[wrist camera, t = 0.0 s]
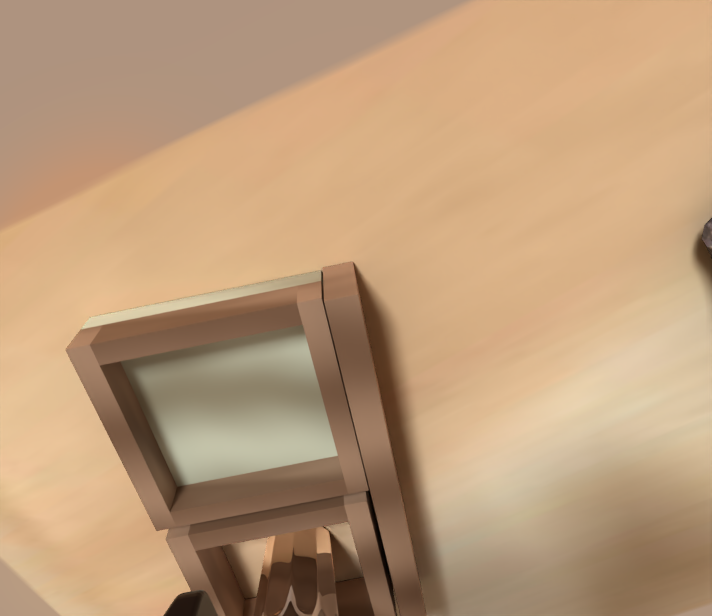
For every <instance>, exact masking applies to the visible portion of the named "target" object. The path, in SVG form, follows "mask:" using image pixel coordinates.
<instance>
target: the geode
mask: <svg viewBox="0 0 712 616" xmlns="http://www.w3.org/2000/svg"><path fill="white" fill-rule="evenodd" d="M702 240H703V241H704V243H705V244H706V247H707V249H708V251H709V253H710V256H711V258H712V218H711V219H710V220H709V221H708V222H707V223H706V224H705V227H704V231H703V235H702Z"/></svg>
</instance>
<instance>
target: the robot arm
mask: <svg viewBox="0 0 712 616" xmlns="http://www.w3.org/2000/svg"><path fill="white" fill-rule="evenodd" d="M164 616H218V614H217V612H216V610H215V608H214V606H213V603H212V601H211V599H210V597H209V595H208V594H207V592H206V591H204V590H197V591H191V592H186V593H182V594H180V595H178V596H177V597H176V598H175V599H174V601H173V602H172V604H171V605H170V607H169V608H168V610H167V611H166V613H165V614H164Z"/></svg>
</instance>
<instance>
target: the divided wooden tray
mask: <svg viewBox="0 0 712 616" xmlns="http://www.w3.org/2000/svg"><path fill="white" fill-rule="evenodd" d="M66 352H67V354H68V356H69V358H70V360H71V362H72V364H73V366H74V368H75V370H76V372H77V374H78V376H79V378H80V380H81V382H82V384H83V386H84V388H85V390H86V392H87V394H88V396H89V398H90V400H91V402H92V404H93V406H94V408H95V410H96V412H97V414H98V415H99V417H100V419H101V421H102V423H103V425H104V427H105V429H106V431H107V433H108V435H109V437H110V439H111V441H112V443H113V445H114V447H115V449H116V451H117V453H118V455H119V457H120V459H121V461H122V463H123V465H124V467H125V469H126V471H127V473H128V475H129V477H130V479H131V481H132V483H133V485H134V487H135V489H136V491H137V493H138V495H139V497H140V499H141V501H142V503H143V505H144V507H145V509H146V511H147V513H148V515H149V517H150V519H151V521H152V523H153V525H154V527H155V529H156V531H159V530H164V529H169V530H168V533H167V537H166V541H167V543H168V545H169V547H170V549H171V551H172V553H173V555H174V557H175V559H176V561H177V563H178V565H179V567H180V569H181V571H182V573H183V575H184V577H185V579H186V581H187V583H188V585H189V587H190V589H191V591H197V590H204V591H206V592H207V594H208V595H209V597H210V599H211V601H212V603H213V606H214V608H215V610H216V612H217V614H218V616H254V610H255V604H256V599H257V597H256V598H251V599H244V597H243V594H242V592H241V590H240V587H239V585H238V583H237V581H236V578H235V576H234V574H233V571H232V569H231V567H230V564H229V562H228V560H227V558H226V555H225V553H224V551H223V548H222V546H223V545H228V544H233V543H238V542H244V541H249V540H254V539H260V538H265V537H270V536H275V535H281V534H286V533H291V532H296V531H302V530H307V529H312V528H318V527H323V526H328V525H333V524H339V523H344V522H349V525H350V528H351V532H352V535H353V539H354V543H355V546H356V550H357V553H358V557H359V561H360V564H361V568H362V571H363V575H364V577H363V578H358V579H353V580H347V581H342V582H336V590H337V599H338V607H339V616H397V613H396V606H395V598H394V591H393V586H394V590H395V594H396V598H397V603H398V607H399V611H400V615H401V616H426V611H425V606H424V600H423V595H422V589H421V584H420V579H419V574H418V569H417V565H416V560H415V555H414V550H413V546H412V541H411V536H410V531H409V527H408V522H407V517H406V512H405V508H404V503H403V498H402V493H401V489H400V484H399V479H398V474H397V469H396V465H395V460H394V455H393V450H392V446H391V441H390V436H389V431H388V427H387V422H386V417H385V412H384V408H383V403H382V398H381V393H380V388H379V384H378V379H377V374H376V369H375V365H374V360H373V355H372V350H371V346H370V341H369V336H368V331H367V327H366V322H365V317H364V312H363V307H362V303H361V298H360V293H359V288H358V284H357V279H356V274H355V269H354V265H353V262H348V263H343V264H338V265H333V266H328V267H323V277H322V273H321V271H316V272H311V273H306V274H301V275H296V276H291V277H286V278H281V279H276V280H271V281H266V282H261V283H256V284H252V285H247V286H242V287H237V288H232V289H227V290H222V291H217V292H212V293H207V294H202V295H197V296H192V297H188V298H183V299H178V300H173V301H168V302H163V303H158V304H153V305H148V306H143V307H138V308H133V309H128V310H123V311H119V312H114V313H109V314H104V315H99V316H94V317H90V318H89V319H88V321H87V322H86V323H85V325H84V326H83V327H82V329H81V330H80V331H79V332H78V334H77V335H76V336H75V338H74V339H73V340H72V342H71V343H70V344H69V346H68V347H67V348H66ZM368 484H369V486H368ZM369 488H370V490H369ZM370 492H371V494H370ZM371 496H372V498H371ZM372 500H373V502H372ZM373 504H374V506H373ZM374 508H375V511H374ZM375 512H376V515H375ZM376 517H377V519H376ZM377 521H378V523H377ZM378 525H379V527H378ZM379 529H380V531H379ZM380 533H381V535H380ZM381 537H382V539H381ZM382 541H383V543H382ZM383 545H384V547H383ZM384 549H385V551H384ZM385 553H386V556H385ZM386 558H387V560H386ZM387 562H388V564H387ZM388 566H389V568H388ZM389 570H390V572H389ZM390 574H391V576H390ZM391 578H392V580H391ZM392 582H393V584H392Z"/></svg>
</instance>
